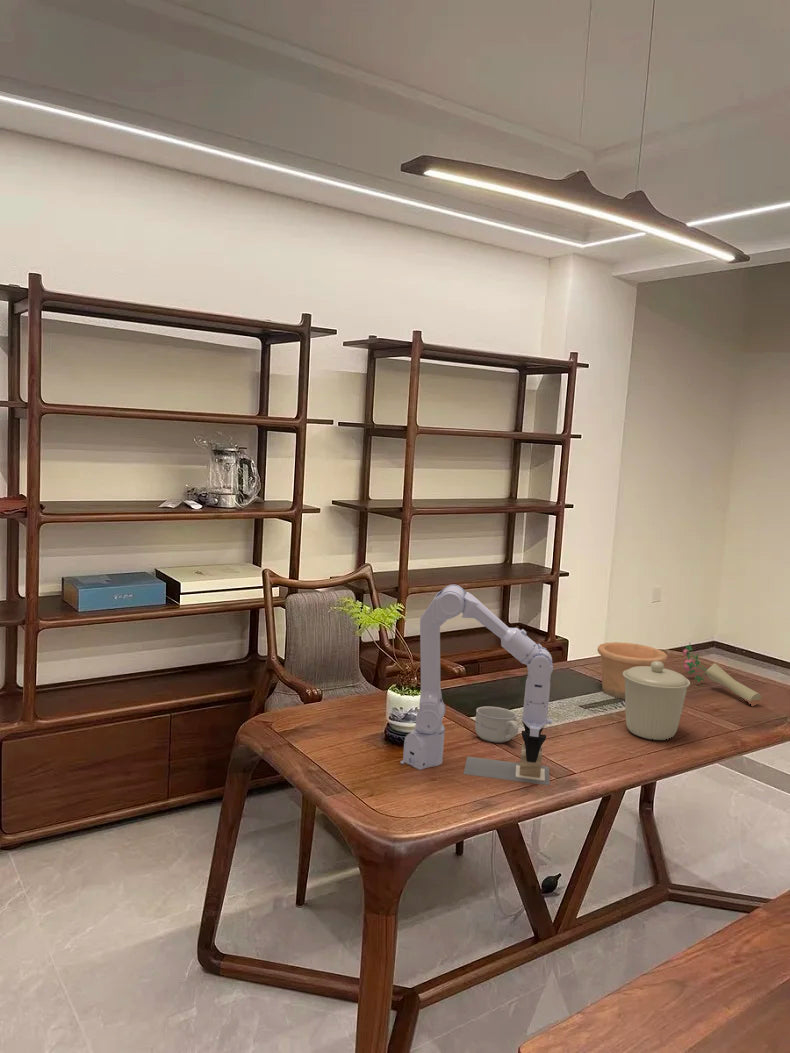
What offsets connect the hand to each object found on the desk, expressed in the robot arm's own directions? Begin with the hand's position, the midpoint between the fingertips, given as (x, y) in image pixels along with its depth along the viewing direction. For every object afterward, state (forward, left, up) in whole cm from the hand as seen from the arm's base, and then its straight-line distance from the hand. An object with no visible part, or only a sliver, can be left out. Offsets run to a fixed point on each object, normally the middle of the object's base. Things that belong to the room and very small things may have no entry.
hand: (531, 755), depth 192 cm
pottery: (+83, +24, -6) cm, 86 cm away
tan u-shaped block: (0, 0, -4) cm, 4 cm away
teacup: (+11, +19, -6) cm, 23 cm away
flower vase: (+113, +9, -6) cm, 113 cm away
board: (-3, +4, -5) cm, 8 cm away
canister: (+54, -1, -6) cm, 54 cm away
